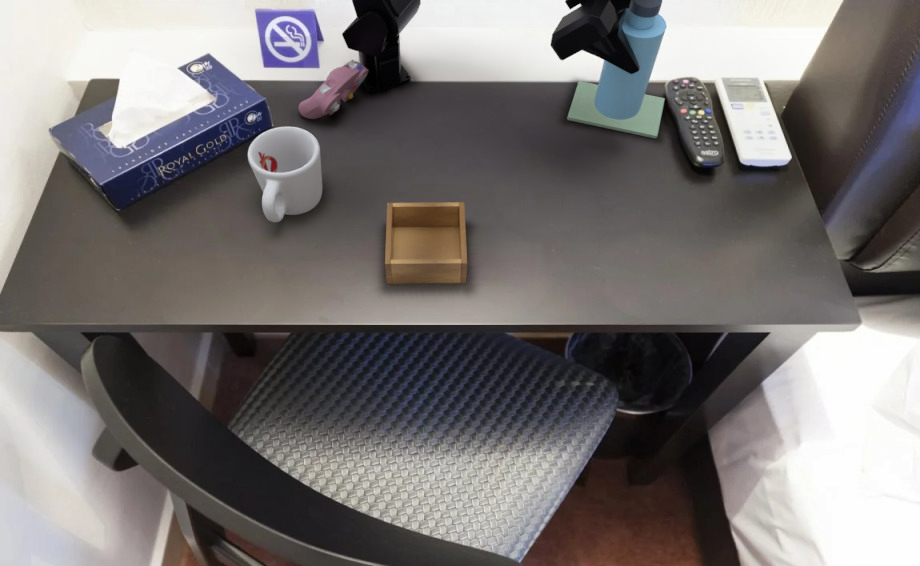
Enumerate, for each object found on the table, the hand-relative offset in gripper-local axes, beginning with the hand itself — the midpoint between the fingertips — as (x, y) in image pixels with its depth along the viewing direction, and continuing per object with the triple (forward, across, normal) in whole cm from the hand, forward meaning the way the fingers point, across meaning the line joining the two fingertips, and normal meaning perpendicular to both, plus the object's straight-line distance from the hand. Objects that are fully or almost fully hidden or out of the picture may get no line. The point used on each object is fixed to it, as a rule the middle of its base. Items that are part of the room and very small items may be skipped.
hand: (642, 57), depth 75 cm
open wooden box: (-1, -27, +20) cm, 33 cm away
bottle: (+4, 0, +6) cm, 7 cm away
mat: (+8, +7, +11) cm, 15 cm away
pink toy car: (-16, -8, +36) cm, 40 cm away
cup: (-13, -27, +33) cm, 44 cm away
